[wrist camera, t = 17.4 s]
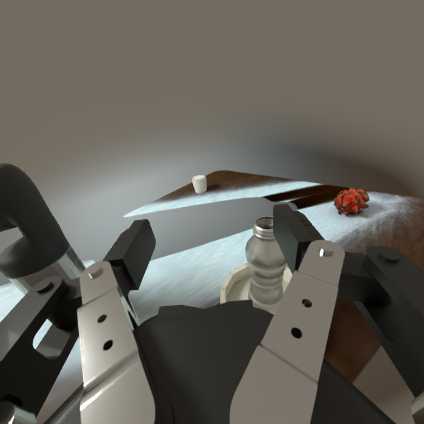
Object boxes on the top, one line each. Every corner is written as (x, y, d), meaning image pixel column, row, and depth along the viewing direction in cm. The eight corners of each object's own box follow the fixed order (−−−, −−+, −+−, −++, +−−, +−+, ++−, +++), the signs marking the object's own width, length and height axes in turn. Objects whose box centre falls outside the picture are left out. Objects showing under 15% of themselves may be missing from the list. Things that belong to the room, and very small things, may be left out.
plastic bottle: (284, 326, 33) (295, 238, 23) (246, 318, 35) (240, 234, 25) (283, 294, 38) (291, 211, 28) (250, 289, 40) (246, 210, 30)
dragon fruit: (359, 209, 64) (339, 227, 60) (340, 191, 66) (319, 207, 63) (382, 197, 56) (361, 216, 52) (360, 177, 59) (337, 194, 55)
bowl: (207, 298, 41) (204, 286, 39) (265, 263, 47) (266, 251, 45) (262, 383, 27) (262, 372, 25) (332, 319, 34) (337, 305, 32)
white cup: (208, 187, 95) (206, 173, 91) (207, 192, 89) (205, 178, 85) (194, 188, 95) (192, 175, 92) (193, 194, 89) (190, 180, 86)
